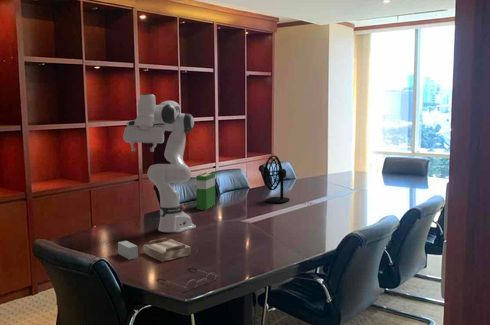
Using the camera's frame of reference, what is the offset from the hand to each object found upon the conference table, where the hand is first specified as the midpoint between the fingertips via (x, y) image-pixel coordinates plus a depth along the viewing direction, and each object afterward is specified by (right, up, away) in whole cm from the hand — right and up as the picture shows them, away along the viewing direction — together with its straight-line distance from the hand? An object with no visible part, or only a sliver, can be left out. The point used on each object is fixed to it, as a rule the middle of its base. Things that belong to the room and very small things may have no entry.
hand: (142, 151), depth 236 cm
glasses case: (-6, -51, -4) cm, 52 cm away
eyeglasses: (+27, -56, -36) cm, 72 cm away
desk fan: (+75, -35, +127) cm, 152 cm away
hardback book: (+23, -38, +105) cm, 114 cm away
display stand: (+12, -51, -2) cm, 52 cm away
